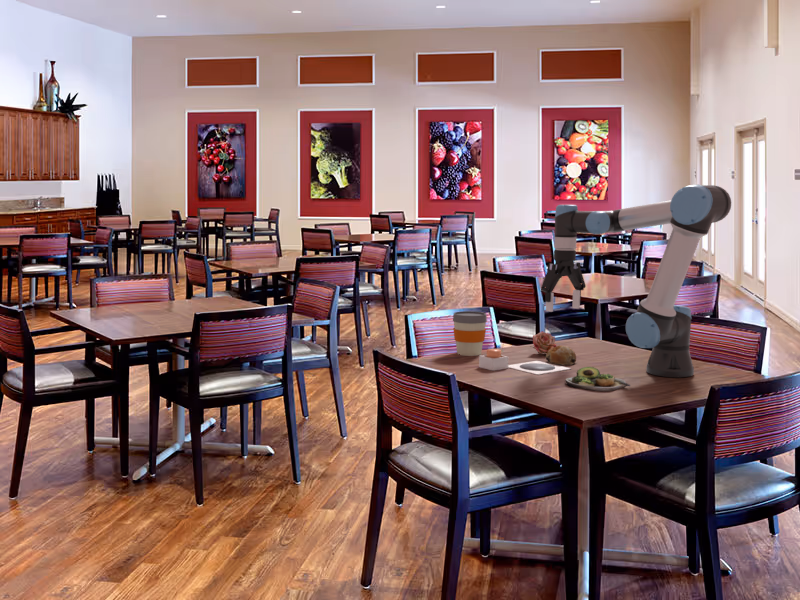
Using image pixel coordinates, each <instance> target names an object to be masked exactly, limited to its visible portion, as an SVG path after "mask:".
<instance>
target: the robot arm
mask: <svg viewBox="0 0 800 600" xmlns="http://www.w3.org/2000/svg"><path fill="white" fill-rule="evenodd" d="M578 207H579V206H578V205H577V204H558V205H557V206H556V207H555V213H554V215H555V216H554V240H553V241H554V244H553V248H554V250H553V260H554V261H555V263H548V265H547V272H546V274H545V277H544V279H543V282H542V285H541V287H540V290H541V292H543V293H545V298H544V299H545V300H544V301H545V312H550V313H552V312H554V295H555V294H554V292H553V291H554V289H555V288H556V286H557V284H558V283H559V281H560V279H562V277H567V278H568V279H569V281H570V283H571V284H572V287H573V288H574V289H573V290H572V309H576V310H580V308H581V306H580V305H581V298H582V291H584V289H585V288H586V282H585V280H584V276H583V273H582V270H581V263H580V262H577V261H576V259H577V258H576V257H577V251H576V249H577V234H580V233H581V234H590V235H591V234H592V235H603V234H605V233H613V234H615V233H622V232H623V231H630V230H635V229H642V228H649V227H650V228H651V227H657V226H663V225H669V224H670V226H671V228H672V230H671V233H670V236H669V238H668V241H667V243H666V246H665V250H664V252H663V255H662V256H661V260H660V262H659V265H658V267H657V270H656V273H655V276H654V279H653V281H652V284H651V286H650V289H649V291H648V294H647V297H646V298H645V299H641V301H640V302H639V304H638V307H637V310H636V311H635V312H634V313H632V314H631V315H630V316H629V317H628V318H627V320H626V323H625V332H626V335H627V337H628V340H629V341H630V343H631V344H633V345H634V346H636V347H637V348H641V349H652V350H651V353H650V355H649V358H648V361H647V363H646V369H645V370H646V373H648V374H650V375H653V376H657V377H658V376H659V377H665V378H688V377H692V376H694V371H695V369H694V364H693V360H692V358H691V353H690V343H691V327H692V326H691V323H692V309H691V308H690V307H688V306H684V305H675V304H676V301H677V299H678V296H679V293H680V291H681V289H682V287H683V284H684V281H685V278H686V275H687V273H688V270H689V267H690V266H691V263H692V261H693V257H694V256H695V252H696V250H697V247H698V245H699V243H700V240H701V239H702V238H703V237H705V236H706V235H708V233H709V231H710V229H711V226H712V224H714V223H718V222H720V221H722V220H723V219H726V217H727V216H728V215H729V213H730V211H731V210H732V209H731V208H732V198H731V196H730V194H729V192H728V191H727V190H726V189H725V188H723V187H721V186H720V185H719V186H718V185H714V184H713V185H712V184H711V185H704V184H690V185H687V186H684V187H682V188H679V189H678V190H677V191H676V192H675V193H674V195H673V196H672V198H671V200H666V201H659V202H653V203H648V204H642V205H637V206H636V205H635V206H631V207H626V208H620V209H614V210H594V211H593V210H592V211H591V210H578V209H579V208H578Z"/></svg>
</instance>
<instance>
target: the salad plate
mask: <svg viewBox="0 0 800 600" xmlns="http://www.w3.org/2000/svg"><path fill="white" fill-rule="evenodd" d="M564 382H565V384H566V385H567V386H569V387H573V388H576V389H581V390H589V391H590V390H591V391H597V392H611V391H613V392H614V391H617V390H621V389H622V388H624V387H631V384H629V383H626V380H625V379H622V378H616V377H615V376H614V375H611V374H609V373H607V374H605V373H601V372H600V370H599V369H598V368H596V367H594V366H584V367H581V368H579V369H577V372H576V376H572V377H567V378H565V380H564Z"/></svg>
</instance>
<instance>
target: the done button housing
mask: <svg viewBox="0 0 800 600" xmlns="http://www.w3.org/2000/svg"><path fill="white" fill-rule="evenodd" d="M508 365H509V356H506V355H503V354H501V357H499V358H490V357H486V354H481V355H478V367H479V368H480V369H485V370H488V371H499V370H505V369H509V368H508Z"/></svg>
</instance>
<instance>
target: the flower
mask: <svg viewBox="0 0 800 600" xmlns="http://www.w3.org/2000/svg"><path fill="white" fill-rule="evenodd" d="M555 342H556V336H553V335H552V333H549V332H545V331H540V332H538V333H537V334H533V336H532V343H533V346H534V347H533V346H529V347H530V348H533V349H534V350H535V351H537V353H538V354H537V355H543V354H544V355H545V354H546V355H547V354H548V351H550V350H551V349H552V348H554V347H556V346H557V344H556V343H555Z"/></svg>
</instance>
